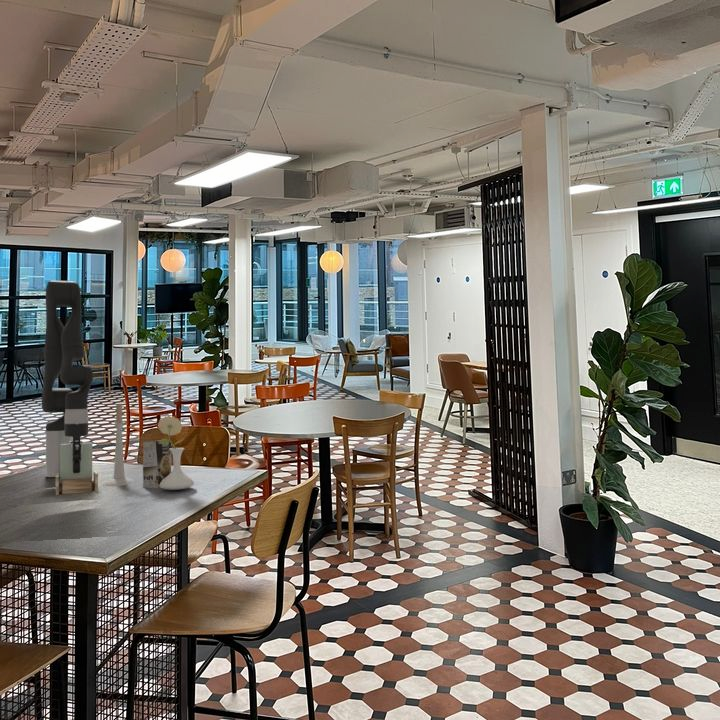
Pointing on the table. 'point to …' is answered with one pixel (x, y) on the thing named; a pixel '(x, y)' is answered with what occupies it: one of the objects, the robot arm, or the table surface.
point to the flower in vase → (174, 456)
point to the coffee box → (155, 463)
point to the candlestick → (118, 455)
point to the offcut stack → (76, 485)
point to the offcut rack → (94, 483)
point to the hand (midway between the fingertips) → (76, 472)
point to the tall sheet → (67, 462)
